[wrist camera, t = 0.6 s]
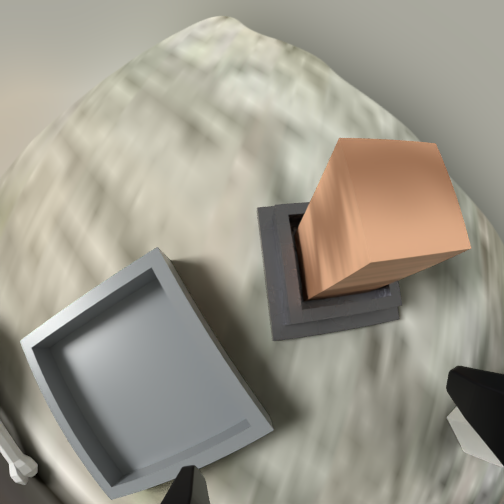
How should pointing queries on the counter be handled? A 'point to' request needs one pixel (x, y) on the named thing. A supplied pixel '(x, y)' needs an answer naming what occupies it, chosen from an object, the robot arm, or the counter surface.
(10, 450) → the chicken leg
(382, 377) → the counter surface
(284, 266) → the grey square base plate
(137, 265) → the tray
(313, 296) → the block
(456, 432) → the milk
